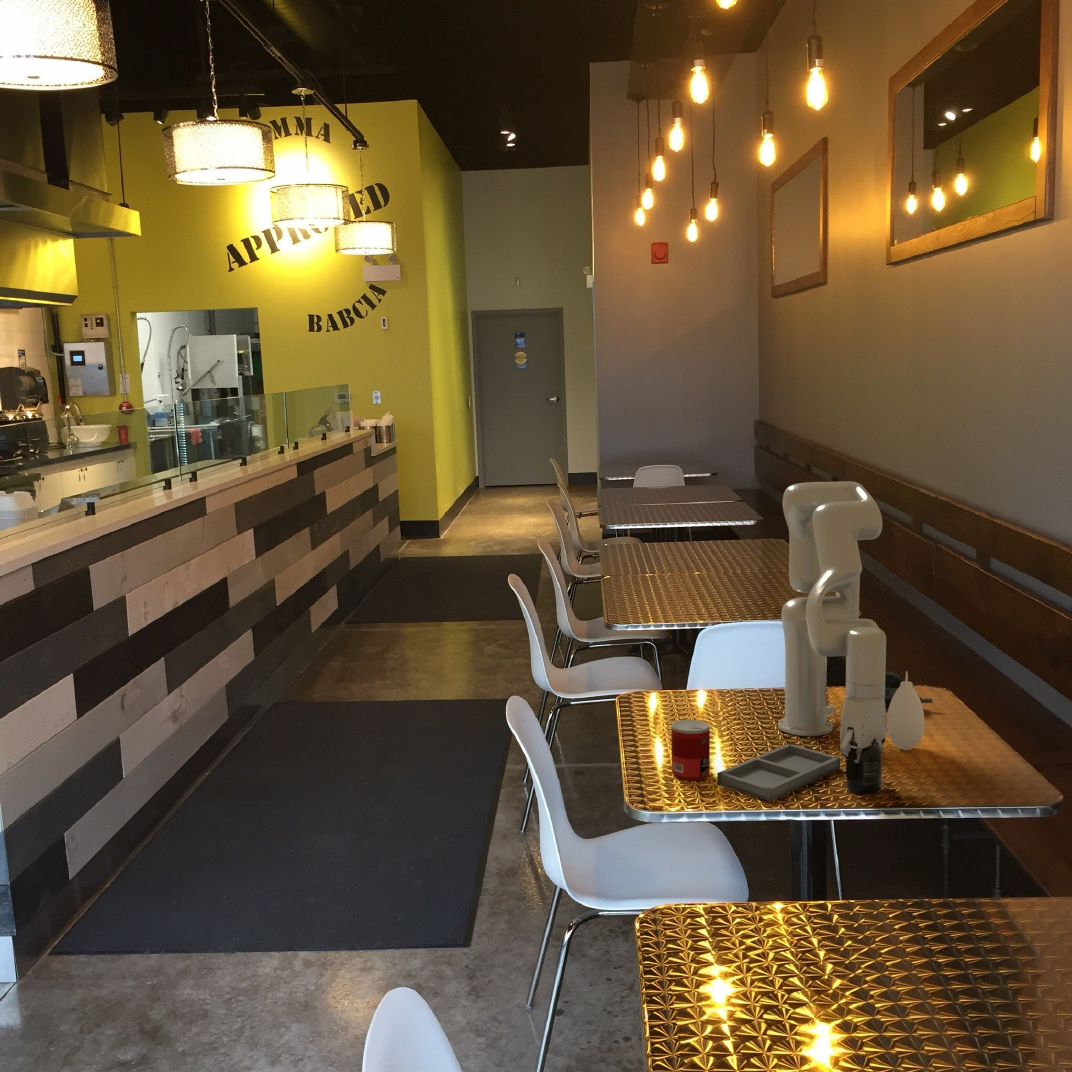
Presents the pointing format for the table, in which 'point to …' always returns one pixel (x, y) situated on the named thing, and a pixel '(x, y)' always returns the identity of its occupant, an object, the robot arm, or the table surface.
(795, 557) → the robot arm
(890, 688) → the caster wheel
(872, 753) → the supplement bottle
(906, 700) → the white air blower bulb
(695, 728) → the canned food
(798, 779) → the caddy
